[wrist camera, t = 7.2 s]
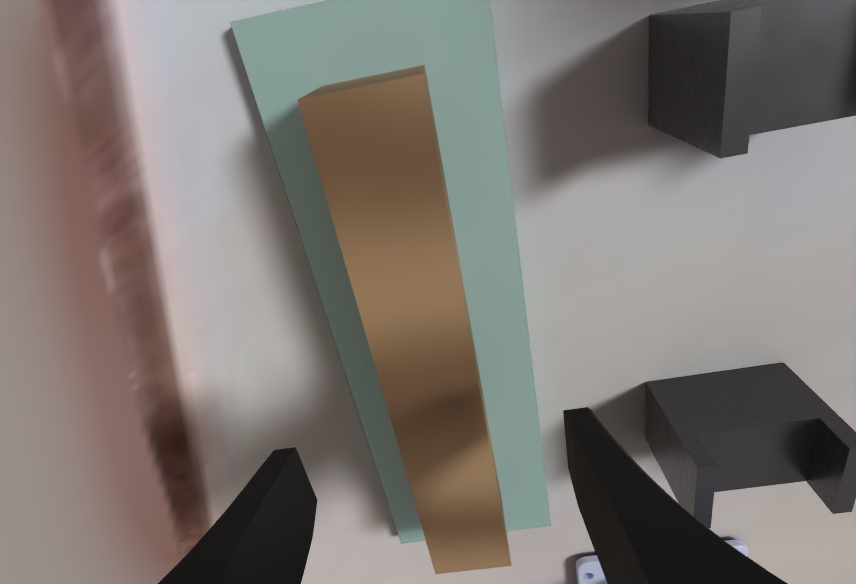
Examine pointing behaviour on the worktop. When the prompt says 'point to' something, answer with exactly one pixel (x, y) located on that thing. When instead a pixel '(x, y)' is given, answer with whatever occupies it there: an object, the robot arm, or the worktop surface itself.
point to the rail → (412, 302)
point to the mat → (468, 198)
